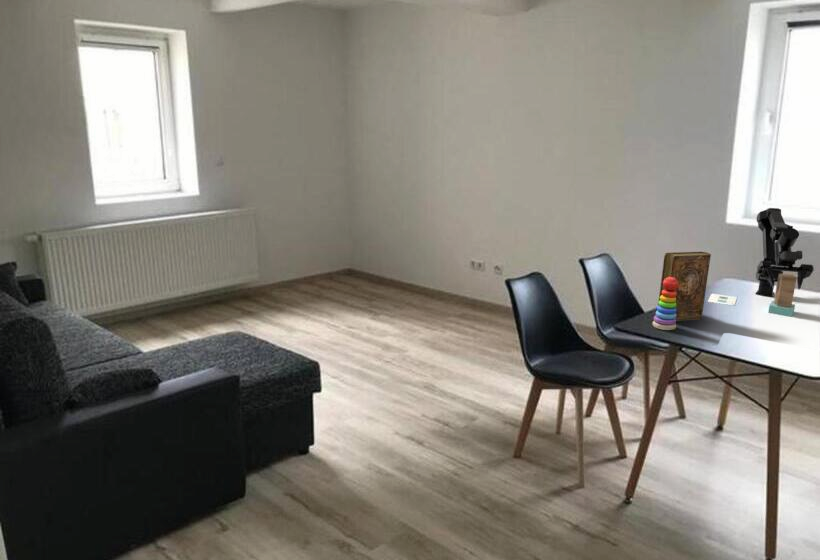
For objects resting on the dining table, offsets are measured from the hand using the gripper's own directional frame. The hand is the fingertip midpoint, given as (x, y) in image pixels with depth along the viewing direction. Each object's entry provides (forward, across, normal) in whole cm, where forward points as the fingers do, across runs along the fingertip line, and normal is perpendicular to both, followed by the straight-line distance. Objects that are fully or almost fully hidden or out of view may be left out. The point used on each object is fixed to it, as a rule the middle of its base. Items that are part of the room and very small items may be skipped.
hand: (786, 287), depth 253 cm
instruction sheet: (-1, -19, +16) cm, 25 cm away
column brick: (+5, 0, +6) cm, 7 cm away
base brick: (+7, 0, +8) cm, 10 cm away
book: (+22, -40, -7) cm, 45 cm away
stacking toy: (+31, -46, -16) cm, 58 cm away
